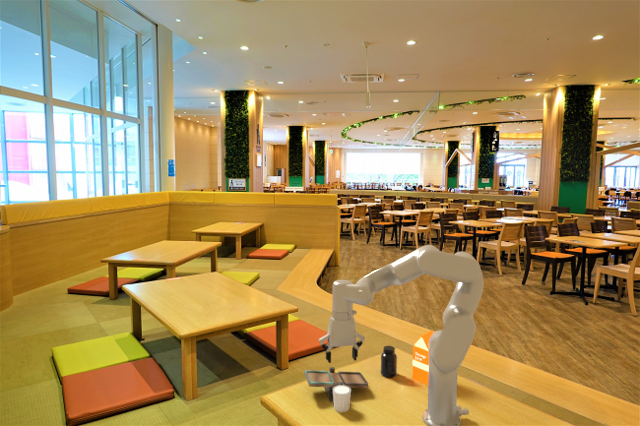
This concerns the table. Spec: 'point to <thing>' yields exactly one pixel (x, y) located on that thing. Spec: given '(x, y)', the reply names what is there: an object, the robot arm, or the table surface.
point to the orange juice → (421, 359)
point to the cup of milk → (341, 398)
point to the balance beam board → (335, 379)
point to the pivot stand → (330, 389)
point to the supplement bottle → (388, 362)
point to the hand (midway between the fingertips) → (341, 360)
